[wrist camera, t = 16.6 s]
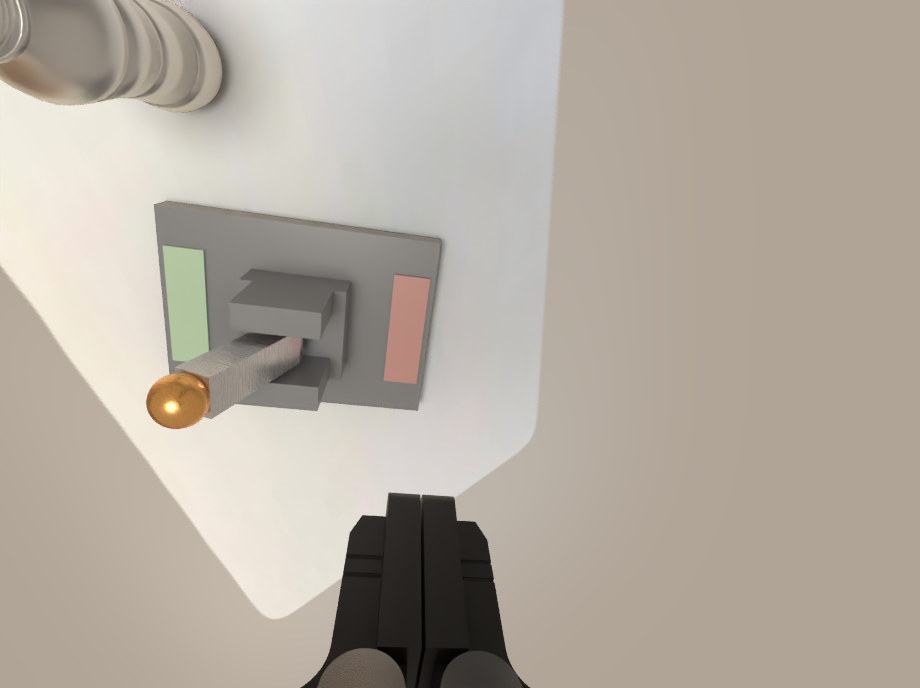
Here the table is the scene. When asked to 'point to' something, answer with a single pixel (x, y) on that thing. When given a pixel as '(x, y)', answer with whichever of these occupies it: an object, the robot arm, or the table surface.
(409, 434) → the table surface
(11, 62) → the plastic bottle
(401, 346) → the switch box
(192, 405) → the lever
